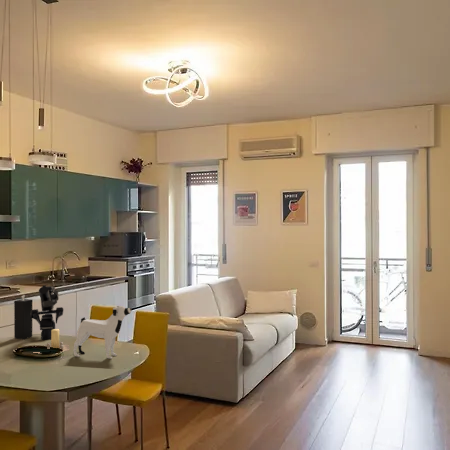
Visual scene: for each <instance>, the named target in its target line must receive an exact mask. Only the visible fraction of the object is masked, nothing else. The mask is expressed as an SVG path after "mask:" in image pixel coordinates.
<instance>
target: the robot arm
mask: <svg viewBox="0 0 450 450" xmlns="http://www.w3.org/2000/svg"><path fill="white" fill-rule="evenodd" d="M38 293H39V297H40V304H41V305H40V306H41V310H39V309H38V308H37V309H32V310H31V318H32V320H35V321H36V322H37V323H38V324H39V330H40V331H41V332H40V339H41V340H43V341H48V340H51V330H53V329H56V324H58V320H59V318H60V317H62V316H63V314H64V307H61V306H60V307H56V309H54V307H55V306H56V305H57V303H58V301H59V299H60V296H59V292H58V290H57V289H56V287H55V286H51V285H50V286H47V285H42V286H41V287H40V288H39V289H38ZM54 314H55V320H54V316H53V315H54ZM40 315H41V318H40Z"/></svg>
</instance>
